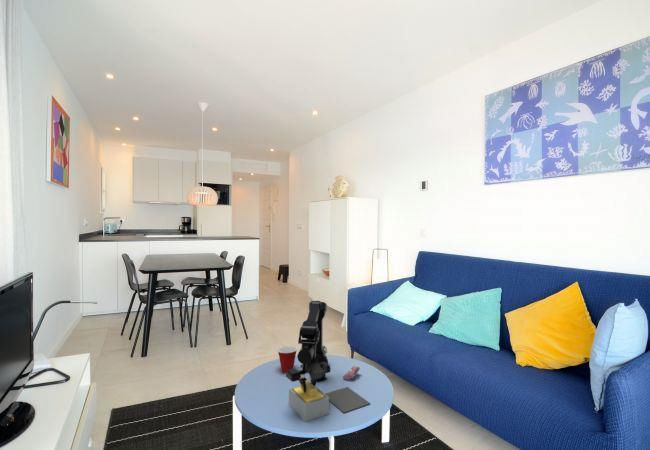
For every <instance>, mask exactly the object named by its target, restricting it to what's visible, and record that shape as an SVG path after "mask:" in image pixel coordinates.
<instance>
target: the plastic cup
mask: <svg viewBox="0 0 650 450" xmlns="http://www.w3.org/2000/svg"><path fill="white" fill-rule="evenodd" d="M276 350H277V353H278V357H279V362H280V368H281V372H282V374H286V372H287V370H290V369H294V366H295V361H296V355H297V351H298V347H296V346H292V345H291V346H289V345H287V346H281V347H279V348H277V349H276Z"/></svg>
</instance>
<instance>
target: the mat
mask: <svg viewBox="0 0 650 450" xmlns="http://www.w3.org/2000/svg"><path fill="white" fill-rule="evenodd" d="M324 394H325V395H327V396H328V397H329V403H331V405H333V406H335V408H337V409H338V410H339V411H340V412H341V413H342V414H347V413H350V412H352V411H354V410H358V409H361V408H365V407H366V406H369V405H371V402H369V401H368V400H367V399H366V398H363V396H361V395H360V394H358V393H357V392H355V391H354V390H352V389H351V388H350V387H348V386H346V387H343V388H339V389H335V390H332V391H329V392H326V393H324Z"/></svg>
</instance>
